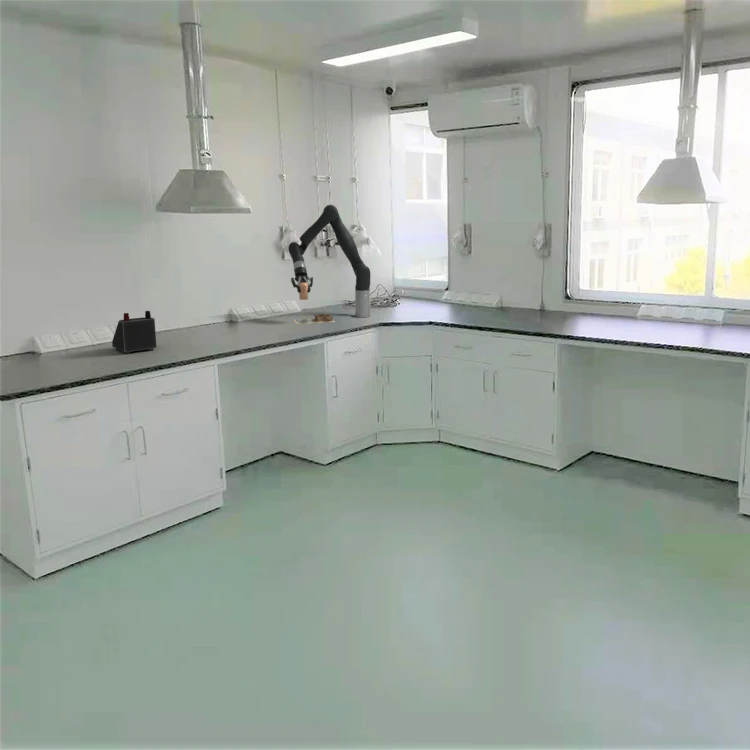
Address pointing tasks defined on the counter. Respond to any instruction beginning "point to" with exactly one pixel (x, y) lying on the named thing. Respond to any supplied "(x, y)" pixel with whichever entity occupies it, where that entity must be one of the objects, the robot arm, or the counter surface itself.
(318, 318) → the station board
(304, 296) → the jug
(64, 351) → the counter surface
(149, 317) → the voltmeter
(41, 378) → the counter surface
